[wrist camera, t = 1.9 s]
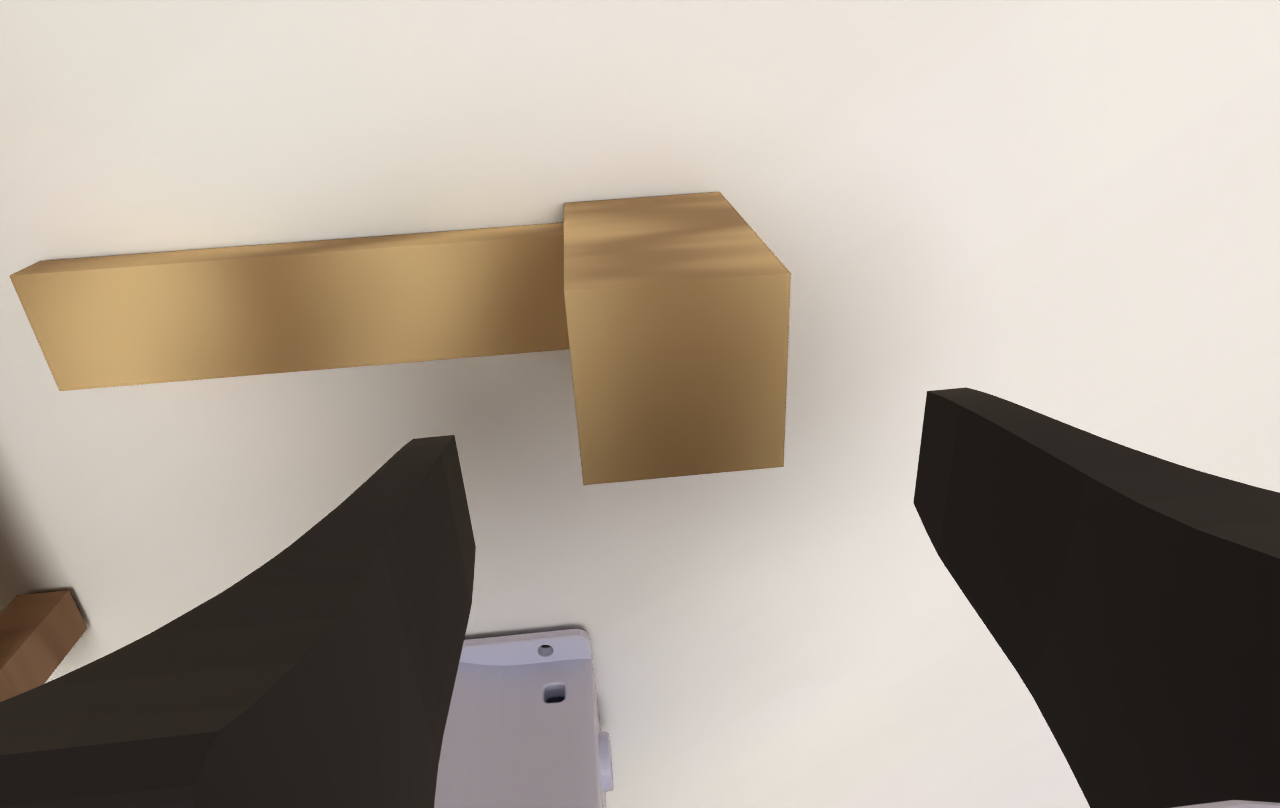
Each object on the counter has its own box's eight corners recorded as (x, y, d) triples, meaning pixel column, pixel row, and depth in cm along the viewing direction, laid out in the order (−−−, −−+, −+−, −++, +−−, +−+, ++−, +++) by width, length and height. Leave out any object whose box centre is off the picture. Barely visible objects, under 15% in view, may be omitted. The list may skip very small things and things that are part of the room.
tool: (719, 191, 20) (790, 273, 14) (720, 336, 22) (783, 466, 16) (32, 241, 19) (-228, 352, 13) (92, 388, 21) (-109, 548, 15)
